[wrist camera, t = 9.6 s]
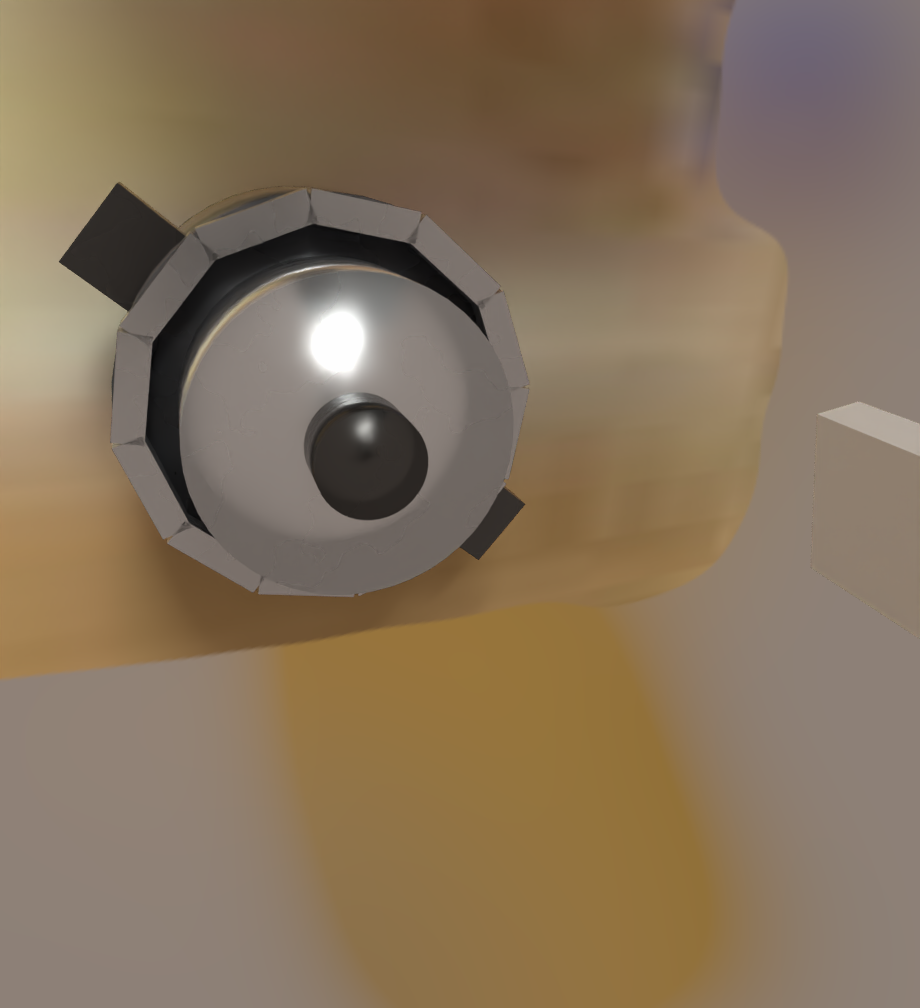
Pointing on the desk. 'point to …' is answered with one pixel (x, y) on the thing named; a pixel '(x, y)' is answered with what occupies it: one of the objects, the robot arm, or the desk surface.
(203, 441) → the lid
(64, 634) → the desk surface
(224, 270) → the pot
